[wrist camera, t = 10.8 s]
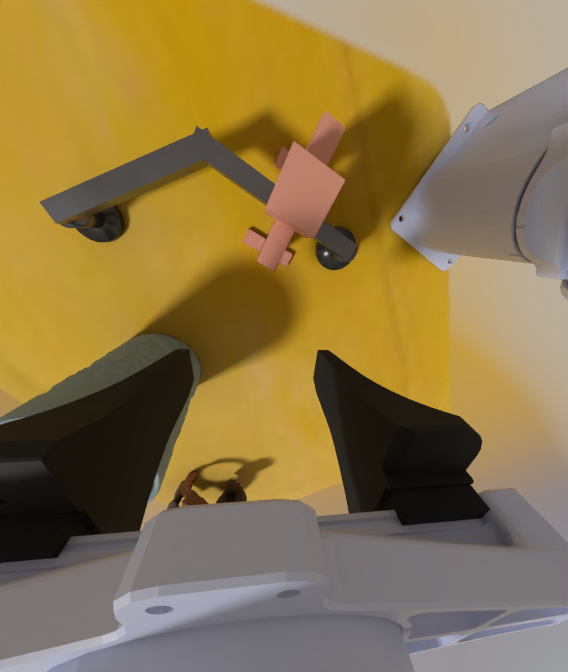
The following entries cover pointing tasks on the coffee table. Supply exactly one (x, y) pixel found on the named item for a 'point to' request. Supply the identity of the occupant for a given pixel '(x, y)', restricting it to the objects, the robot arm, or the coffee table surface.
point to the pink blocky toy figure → (300, 193)
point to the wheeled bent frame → (163, 167)
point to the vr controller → (192, 498)
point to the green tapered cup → (109, 372)
